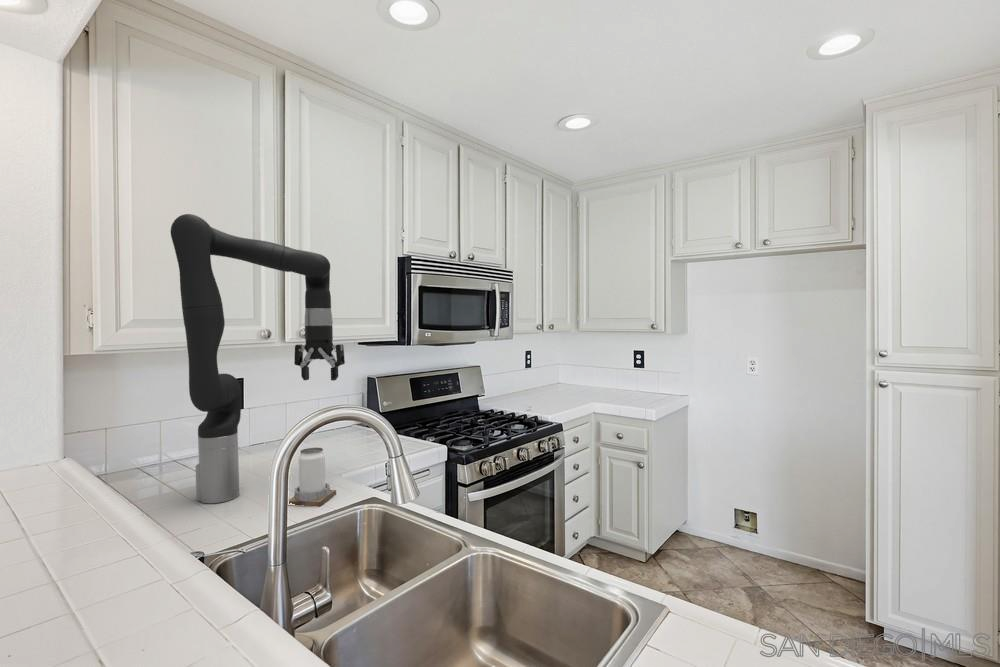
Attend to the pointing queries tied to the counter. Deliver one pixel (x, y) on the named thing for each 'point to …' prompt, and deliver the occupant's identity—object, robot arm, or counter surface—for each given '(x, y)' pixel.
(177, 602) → the counter surface
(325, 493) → the collar
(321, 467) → the can
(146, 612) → the counter surface
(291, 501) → the board
